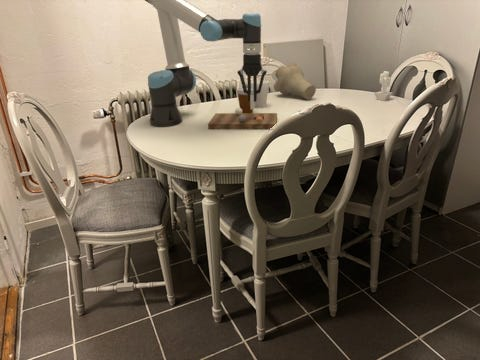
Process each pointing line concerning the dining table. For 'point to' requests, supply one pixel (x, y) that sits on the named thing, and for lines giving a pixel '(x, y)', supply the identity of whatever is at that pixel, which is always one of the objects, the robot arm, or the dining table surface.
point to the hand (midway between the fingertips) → (252, 108)
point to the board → (250, 123)
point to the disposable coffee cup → (244, 100)
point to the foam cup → (261, 94)
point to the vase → (293, 82)
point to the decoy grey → (241, 118)
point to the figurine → (384, 87)
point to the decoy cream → (238, 111)
